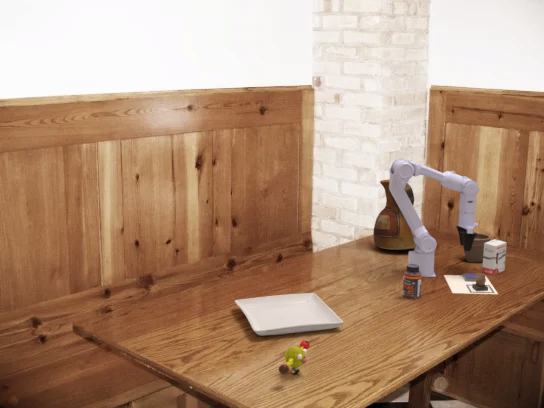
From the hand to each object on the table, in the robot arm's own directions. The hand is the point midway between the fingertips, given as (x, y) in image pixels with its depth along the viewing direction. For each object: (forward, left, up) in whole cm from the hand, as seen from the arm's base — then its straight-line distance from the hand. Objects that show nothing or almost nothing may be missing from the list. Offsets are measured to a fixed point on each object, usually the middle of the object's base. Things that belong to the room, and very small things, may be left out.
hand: (465, 248), depth 250 cm
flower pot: (+7, +18, -10) cm, 22 cm away
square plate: (-62, -51, -10) cm, 81 cm away
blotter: (0, -14, -10) cm, 17 cm away
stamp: (+2, -19, -9) cm, 21 cm away
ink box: (+11, +2, -10) cm, 15 cm away
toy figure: (-57, -87, -10) cm, 104 cm away
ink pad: (+2, -8, -9) cm, 12 cm away
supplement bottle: (-22, -28, -10) cm, 37 cm away
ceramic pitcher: (-22, +33, -10) cm, 41 cm away
